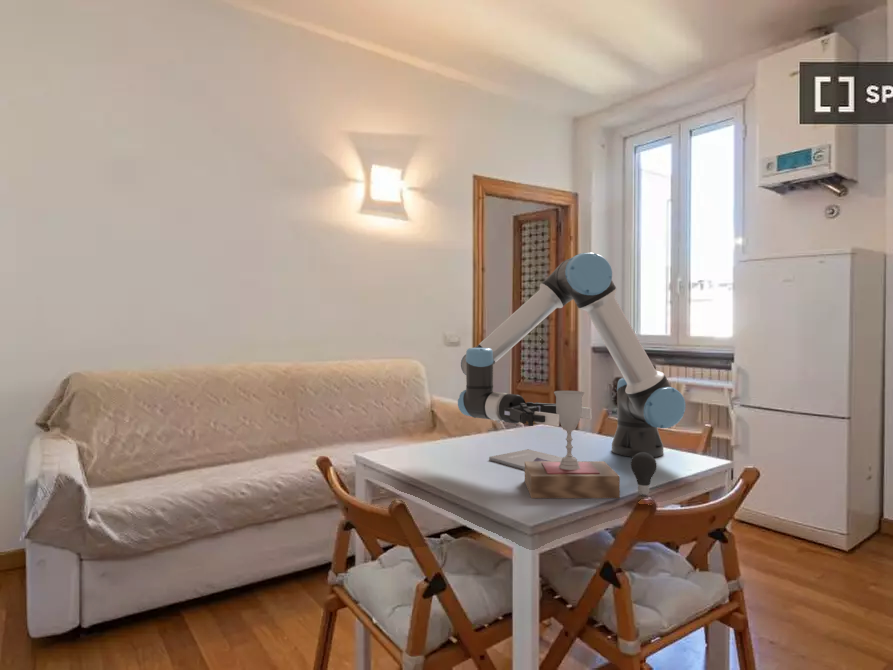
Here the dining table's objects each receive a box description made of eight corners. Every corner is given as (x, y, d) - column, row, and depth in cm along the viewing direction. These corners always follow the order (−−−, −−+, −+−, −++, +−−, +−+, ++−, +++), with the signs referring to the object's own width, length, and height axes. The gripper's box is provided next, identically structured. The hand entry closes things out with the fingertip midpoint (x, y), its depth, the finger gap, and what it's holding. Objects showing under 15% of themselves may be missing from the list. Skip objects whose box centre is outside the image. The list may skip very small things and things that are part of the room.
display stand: (604, 481, 141) (604, 460, 141) (619, 498, 127) (619, 475, 127) (524, 481, 142) (524, 460, 142) (531, 498, 128) (531, 474, 128)
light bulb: (638, 500, 126) (638, 455, 125) (626, 492, 131) (626, 450, 131) (661, 498, 126) (661, 454, 126) (648, 491, 132) (648, 449, 132)
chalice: (590, 466, 134) (589, 392, 134) (576, 472, 129) (575, 394, 129) (563, 462, 139) (562, 389, 139) (548, 467, 134) (548, 392, 134)
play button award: (528, 449, 174) (579, 461, 158) (528, 454, 174) (579, 467, 158) (489, 456, 164) (539, 470, 148) (489, 462, 164) (539, 476, 148)
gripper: (535, 416, 157) (603, 425, 141) (474, 428, 140) (543, 440, 124) (535, 389, 157) (603, 396, 141) (473, 398, 139) (543, 406, 124)
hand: (575, 417), depth 133 cm, fingers open, 13 cm apart
